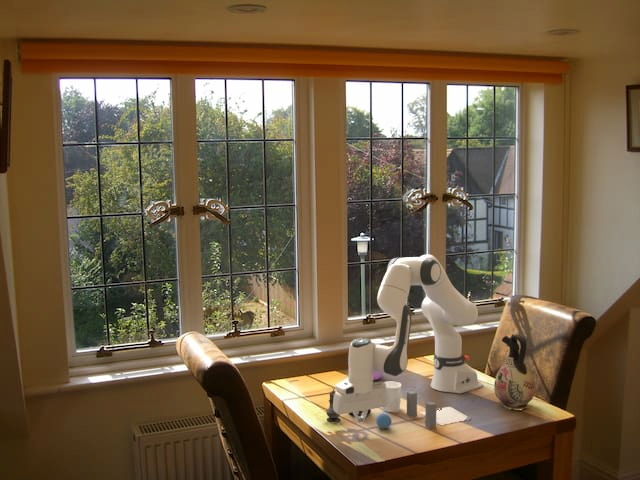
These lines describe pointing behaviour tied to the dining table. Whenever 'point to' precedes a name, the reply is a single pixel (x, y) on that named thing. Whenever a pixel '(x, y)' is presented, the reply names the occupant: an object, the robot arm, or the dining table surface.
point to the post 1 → (411, 403)
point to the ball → (383, 420)
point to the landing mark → (448, 416)
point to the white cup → (392, 396)
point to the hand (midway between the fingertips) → (360, 421)
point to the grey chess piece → (330, 412)
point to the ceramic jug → (514, 376)
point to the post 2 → (430, 415)
